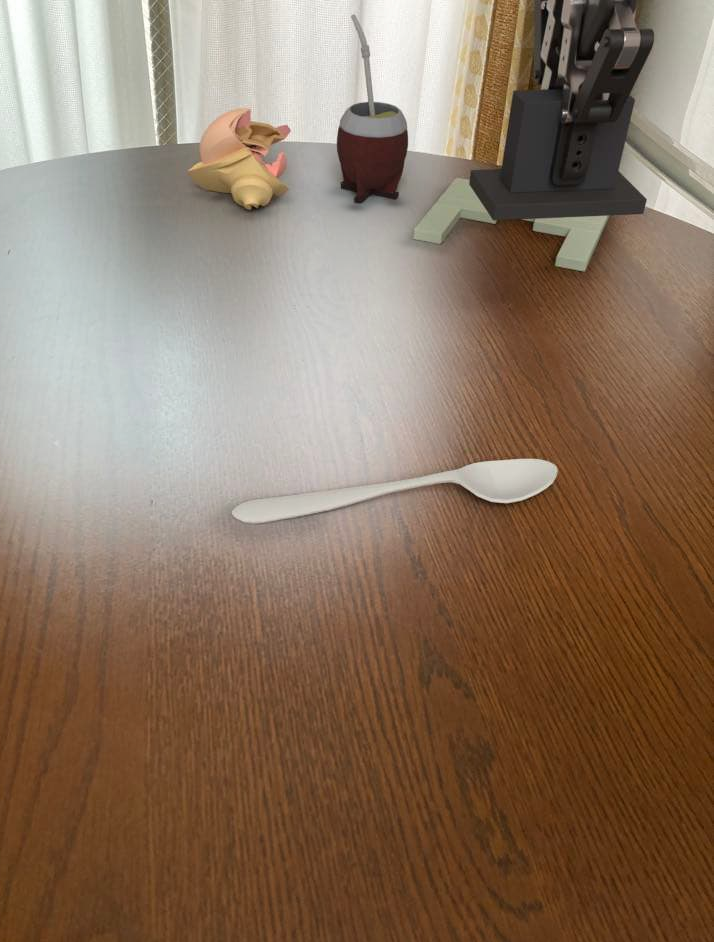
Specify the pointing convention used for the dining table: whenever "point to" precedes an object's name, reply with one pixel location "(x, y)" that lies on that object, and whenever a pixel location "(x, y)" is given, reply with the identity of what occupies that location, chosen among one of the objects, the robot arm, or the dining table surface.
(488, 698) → the dining table surface
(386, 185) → the mate gourd
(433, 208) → the sage stepped arch block
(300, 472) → the dining table surface
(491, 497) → the spoon
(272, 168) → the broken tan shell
